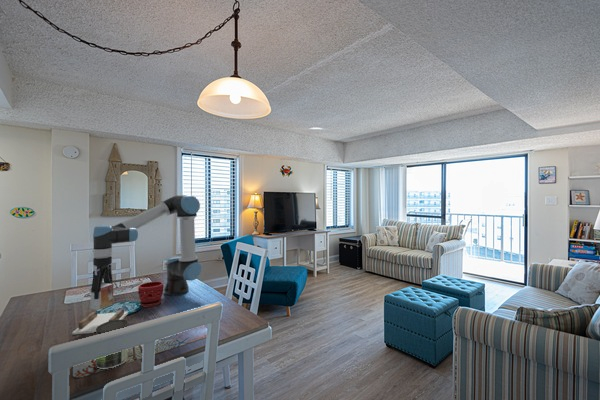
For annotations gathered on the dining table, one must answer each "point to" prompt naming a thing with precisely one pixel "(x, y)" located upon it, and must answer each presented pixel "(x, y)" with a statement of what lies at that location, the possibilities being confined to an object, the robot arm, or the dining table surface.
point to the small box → (103, 296)
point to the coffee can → (118, 357)
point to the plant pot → (150, 293)
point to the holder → (97, 321)
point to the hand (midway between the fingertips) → (102, 301)
